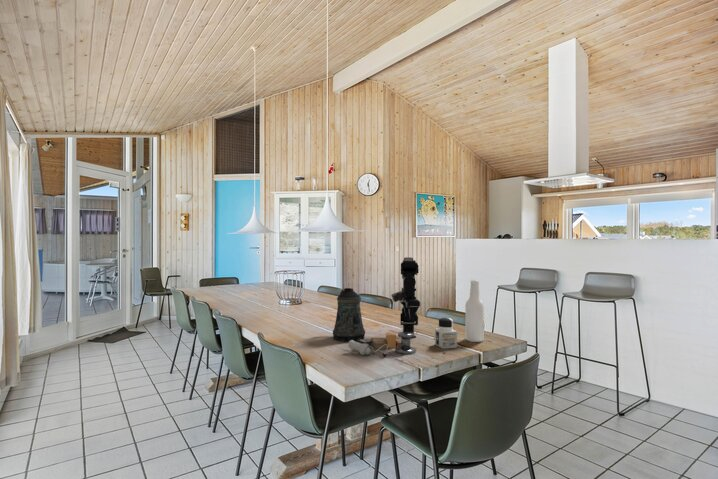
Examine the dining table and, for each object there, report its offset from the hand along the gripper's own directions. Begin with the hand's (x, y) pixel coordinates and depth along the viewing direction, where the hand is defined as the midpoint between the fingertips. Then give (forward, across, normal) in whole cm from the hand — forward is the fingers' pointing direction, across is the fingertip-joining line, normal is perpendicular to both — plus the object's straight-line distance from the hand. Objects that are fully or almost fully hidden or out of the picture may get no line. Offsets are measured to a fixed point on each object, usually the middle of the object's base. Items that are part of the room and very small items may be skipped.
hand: (409, 318), depth 192 cm
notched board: (+12, +2, -10) cm, 16 cm away
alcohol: (+12, -2, +34) cm, 36 cm away
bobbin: (+12, +14, -5) cm, 19 cm away
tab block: (+12, +5, -10) cm, 17 cm away
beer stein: (+12, -14, -29) cm, 34 cm away
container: (+12, +7, +16) cm, 21 cm away
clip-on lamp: (+12, +15, -22) cm, 29 cm away
